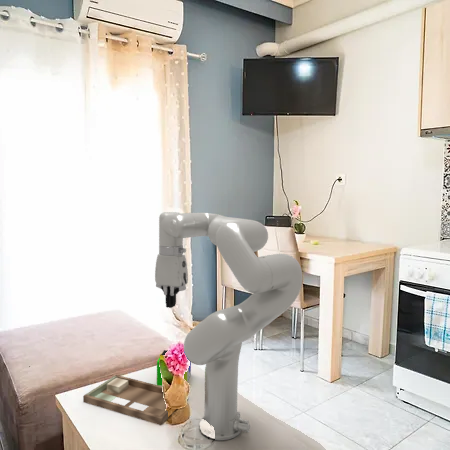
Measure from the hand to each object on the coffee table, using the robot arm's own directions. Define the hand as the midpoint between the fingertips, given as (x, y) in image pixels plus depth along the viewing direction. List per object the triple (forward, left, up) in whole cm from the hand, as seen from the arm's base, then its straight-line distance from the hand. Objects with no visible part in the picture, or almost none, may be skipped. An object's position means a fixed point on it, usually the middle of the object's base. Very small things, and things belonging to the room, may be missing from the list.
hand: (170, 306), depth 131 cm
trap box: (+8, +8, -31) cm, 33 cm away
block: (+17, +5, -30) cm, 35 cm away
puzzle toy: (+4, -9, -31) cm, 33 cm away
